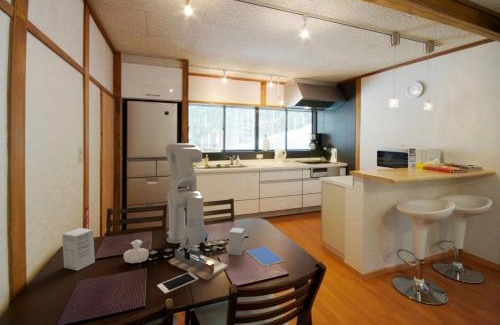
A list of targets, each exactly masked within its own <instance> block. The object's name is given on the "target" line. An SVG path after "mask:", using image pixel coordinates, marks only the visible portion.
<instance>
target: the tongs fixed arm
mask: <svg viewBox="0 0 500 325" xmlns="http://www.w3.org/2000/svg"><path fill="white" fill-rule="evenodd" d="M174 253H175V254H174V255H175V256H174V258H175V259H176V260H178V261H180V262H183V263H185V264H187V265H190V266H192V267H194V268H197V269H199V270H201V271H204V272H206V273H208V274H212V264H210V263H208V262H204V261H202V260H199V259H197V258H194V257H192V256H190V260H187V259H185V258H184V253H182V252H181V249H180V248H175V249H174Z"/></svg>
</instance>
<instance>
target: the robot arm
mask: <svg viewBox="0 0 500 325" xmlns="http://www.w3.org/2000/svg"><path fill="white" fill-rule="evenodd" d="M165 155H166V159H167V161H168V166H169V169H168V170H169V172H168V173H169V184H170V186H171V190H169V191H168V192H167V195H166V196H167V197H166V199H167V202H168V203H167V204H168V216H169V217H168V223H169V224H168V228H169V229H168V231H166V234H167V235H168V237H167V238H166V242H167V243H169V244H179V246H180V248H181V249H180V250H181V251H184V258H185V259H187V260H190V252H189V251H190V249H191V248H192V247H196V246H197V245H199V249H200V253H206V244H207V240H208V238H209V233H208V232H206V228H205V223H204V219H205V216H204V197H203V195H202V193H201V192H200V191H198V188H197V187H198V186H197V184H198V182H197V180H198V179H197V175H196V172H195V167H194V163H195V164H198V163H201V162H202V161H203V152H202V150H201V148H200V147H199V146H198V145H197V144H195V143H191V142H190V143H188V142H187V143H184V142H178V143H177V142H173V143H169V144H167V145H165ZM183 187H185V188H183ZM186 187H187V188H186ZM185 208H186V211H185Z"/></svg>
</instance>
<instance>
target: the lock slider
mask: <svg viewBox="0 0 500 325" xmlns="http://www.w3.org/2000/svg"><path fill="white" fill-rule="evenodd" d="M189 252H190V254H192V255H195V256H197V257H199V256H200V255H201V251H200V248H197V247H196V246H193V247H191V249H190V251H189Z"/></svg>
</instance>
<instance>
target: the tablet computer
mask: <svg viewBox="0 0 500 325" xmlns="http://www.w3.org/2000/svg"><path fill="white" fill-rule="evenodd" d="M246 253H247V254H248V255H249V256H251V257H252V258H253V259H254V260H255V261H257V263H259V264H260V265H261V266H262V267H268V266H272V265H276V264H279V263H284V262H285V261H284V259H283V258H281V257H280V256H279V255H277V254H276V253H274V252H273V251H272V250H270V248H267V246H260V247H256V248H251V249H247V250H246Z"/></svg>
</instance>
